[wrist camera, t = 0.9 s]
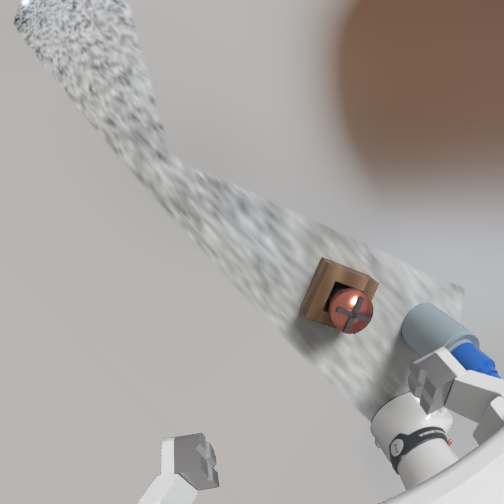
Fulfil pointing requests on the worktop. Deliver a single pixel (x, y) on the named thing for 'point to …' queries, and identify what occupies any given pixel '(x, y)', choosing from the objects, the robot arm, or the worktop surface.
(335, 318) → the copper cross-head bolt
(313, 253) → the worktop surface
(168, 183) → the worktop surface
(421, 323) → the spray bottle
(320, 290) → the block
